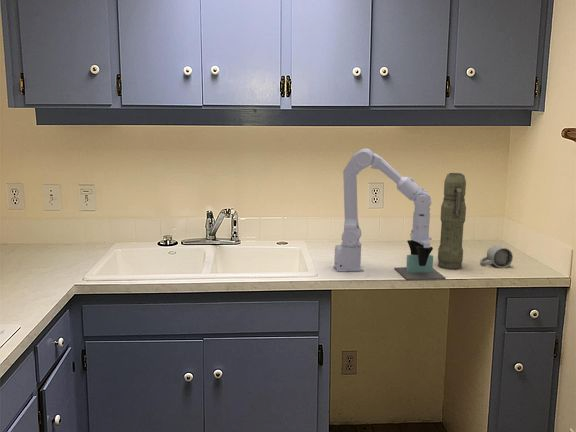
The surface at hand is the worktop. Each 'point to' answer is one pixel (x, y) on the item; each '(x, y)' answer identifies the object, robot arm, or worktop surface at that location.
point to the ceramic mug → (497, 257)
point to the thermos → (452, 222)
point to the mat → (419, 274)
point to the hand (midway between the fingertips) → (418, 262)
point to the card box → (414, 264)
